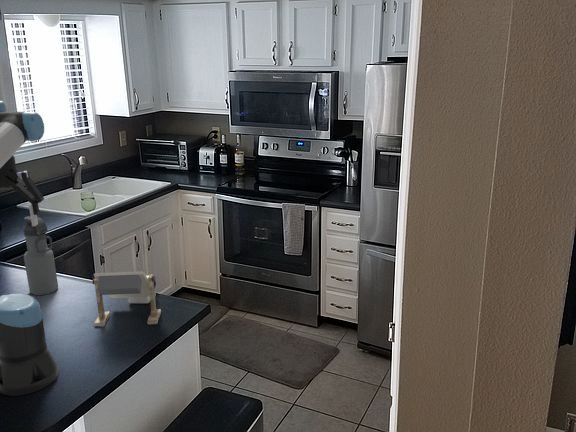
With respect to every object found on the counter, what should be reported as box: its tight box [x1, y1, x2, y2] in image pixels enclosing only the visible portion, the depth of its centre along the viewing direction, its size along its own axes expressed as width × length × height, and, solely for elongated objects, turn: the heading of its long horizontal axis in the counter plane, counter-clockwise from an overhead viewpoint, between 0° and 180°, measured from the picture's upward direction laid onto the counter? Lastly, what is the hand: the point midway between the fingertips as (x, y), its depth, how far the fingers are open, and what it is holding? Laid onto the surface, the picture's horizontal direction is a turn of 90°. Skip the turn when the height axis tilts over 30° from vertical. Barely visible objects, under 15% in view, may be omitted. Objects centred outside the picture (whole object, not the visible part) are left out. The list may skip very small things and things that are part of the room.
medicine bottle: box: [127, 274, 157, 304], centre depth 194 cm, size 7×7×12 cm
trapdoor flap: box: [93, 270, 157, 299], centre depth 177 cm, size 21×15×5 cm
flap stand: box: [91, 273, 162, 327], centre depth 177 cm, size 8×20×15 cm, turn 94°
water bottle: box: [22, 215, 59, 296], centre depth 198 cm, size 10×10×28 cm
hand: (11, 225), depth 163 cm, fingers open, 13 cm apart
